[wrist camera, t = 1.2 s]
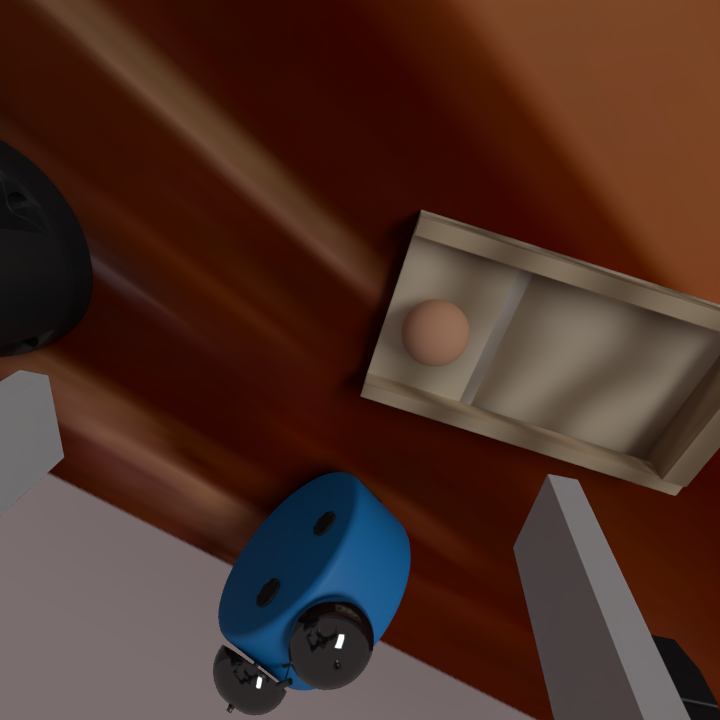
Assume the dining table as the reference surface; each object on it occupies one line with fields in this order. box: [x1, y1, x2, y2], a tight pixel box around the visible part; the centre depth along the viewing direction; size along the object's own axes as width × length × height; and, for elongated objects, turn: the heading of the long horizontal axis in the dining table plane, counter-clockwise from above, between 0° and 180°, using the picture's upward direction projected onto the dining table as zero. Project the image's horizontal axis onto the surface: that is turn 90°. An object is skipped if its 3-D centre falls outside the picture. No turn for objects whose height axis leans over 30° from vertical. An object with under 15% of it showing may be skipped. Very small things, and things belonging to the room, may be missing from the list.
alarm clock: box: [213, 472, 410, 715], centre depth 31 cm, size 13×6×15 cm, turn 130°
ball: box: [401, 299, 470, 367], centre depth 27 cm, size 4×4×4 cm
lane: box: [361, 210, 720, 496], centre depth 28 cm, size 22×12×3 cm, turn 74°
